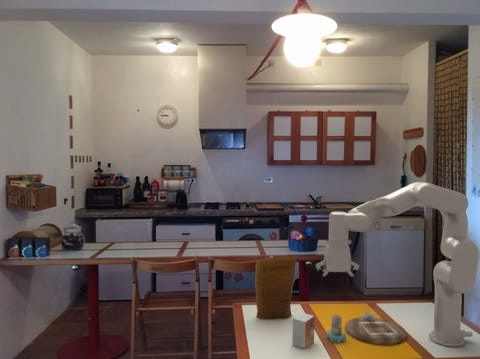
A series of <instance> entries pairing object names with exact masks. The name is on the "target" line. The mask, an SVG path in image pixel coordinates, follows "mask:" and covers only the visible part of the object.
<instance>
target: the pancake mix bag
mask: <svg viewBox="0 0 480 359" xmlns="http://www.w3.org/2000/svg"><path fill="white" fill-rule="evenodd" d="M296 265H297V257H296V256H281V257H272V258H259V259H258V261H257V260H256V261H255V276H254V283H255V285H254V286H255V287H254V288H255V300H256V301H255V302H256V311H257V312H256V318H257V319H260V320H273V319H274V320H279V319H289V318H291V317H292V316H293V315H292V311H291V302H292V297H293V296H292V294H293V287H294V281H295V270H296V267H297V266H296Z"/></svg>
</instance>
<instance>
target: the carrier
mask: <svg viewBox="0 0 480 359" xmlns="http://www.w3.org/2000/svg"><path fill="white" fill-rule="evenodd" d="M344 329H345V333H346V334H347V335H349V336H350V337H351V338H353V339H355V340H356V341H357V340H358V341H360V342H363V343H366V344H371V345H378V346H394V345H398V344H401V343H404V341H406V339H407V331H406V330H405V329H404V328H403V326H401V325H400V324H397V323H396V322H393V321H390V320H387V319H383V318H377V317H376V314H375V313H372V312H365V311H364V312H363V313H362V317H354V318H351V319H349V320H347V321H346V322H345V328H344Z"/></svg>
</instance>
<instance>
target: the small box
mask: <svg viewBox="0 0 480 359" xmlns="http://www.w3.org/2000/svg"><path fill="white" fill-rule="evenodd" d="M315 320H316V317H315V316H314V315H312V314H308V313H305V312H301V313H300V314H299V315H297V316H296V317H293V318H292V346H295V347H298V348H299V349H306V348H308V347H310V345H312V344H314V343H315V324H316V323H315Z"/></svg>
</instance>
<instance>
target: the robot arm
mask: <svg viewBox="0 0 480 359" xmlns="http://www.w3.org/2000/svg"><path fill="white" fill-rule="evenodd" d="M418 205H422V206H426V207H429V208H432V209H434V210H435V209H436V210H438V211H439V212H440V215H441V216H442V219H443V227H442V234H441V241H440V252H441V254H442V255H443V256H445V257H446V258H448V259H450V260H442V261H440V262H437V263H436V265H435V266H434V269H433V283H434V303H433V304H434V305H433V307H434V308H433V310H434V311H433V331H430V332H429V334H428V335H429V336H428V338H429V339H430V340H431V341H432V342H434V343H436V344H439V345H441V346H446V347H452V348H458V347H462V346H464V345H465V339H464V338H465V337H466V338H467V337H468V338H472V337H474V336H473V332H472V331H466V329H462V327H461V326H462V325H461V324H462V322H461V321H462V304H463V302H462V301H463V298H462V294H466V293H469V292H471V290H472V289H473V288H474V286H475V283H476V279H477V273H478V267H479V259H480V252H479V249H478V246H477V245H476V243H474V242H473V241H472V240H470V239H468V229H469V228H468V227H469V219H468V216H467V212H466V211H467V209H468V207H469V200H468V197H467V196H466V195H465V194H463V193H462V192H460V191H456V190H453V189H449V188H445V187H442V186H439V185H436V184H433V183H431V182H430V183H429V182H422V181H416V182H412V183H410V184H408V185H406V186H404V187H402V188H400V189H398V190H395V191H393V192H391V193H388V194H387V195H385V196H382V197H378V198H376V199H374V200H371V201H367V202H365V203H363V204H360V205H358V206H356V207H355V208H352V209H350V210H349V211H347V212H345V211H331V212H330V213H329V216H328V240H327V241H328V244H326V246H325V249H324V257H323V260H322V261H320V262H318V263H316V264H315V267H316V269H317V271H318V273H320V275H321V284H322V285H323V286H324V287H327V286H328V277H327V275H328V274H329V273H347V275H346V285H347V286H348V287H352V284H353V277H354V275H355V274H356V273H357V271H358V270H359V268H360V265H359V264H358V263H356V262H354V261H352V256H351V248H350V246H349V245H350V244H352V240H351V239H349V231H350V232H357V233H358V232H359V233H363V232H366V231H368V230H369V229H370V227H371V222H372V220H375V219H378V218H385V217H386V218H387V217H388V218H389V217H394V216H397V215H400V214H402V213H404V212H407V211H408V210H411V209H412V208H414V207H417V206H418ZM322 266H323V268H324V269H321V267H322ZM352 266H353V269H352Z"/></svg>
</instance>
